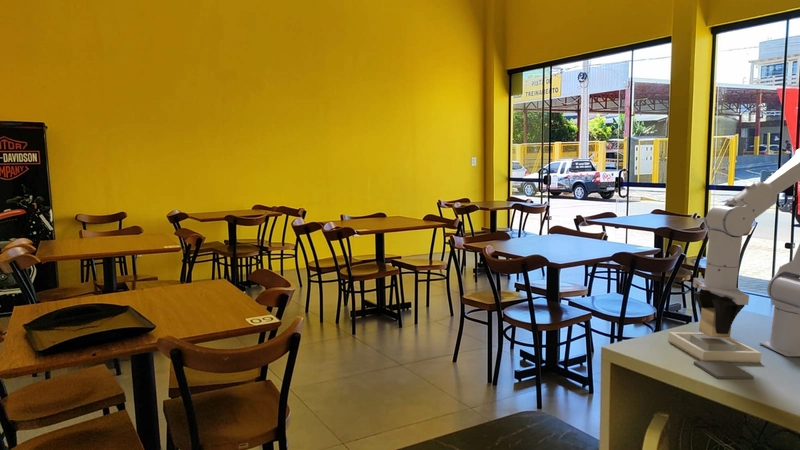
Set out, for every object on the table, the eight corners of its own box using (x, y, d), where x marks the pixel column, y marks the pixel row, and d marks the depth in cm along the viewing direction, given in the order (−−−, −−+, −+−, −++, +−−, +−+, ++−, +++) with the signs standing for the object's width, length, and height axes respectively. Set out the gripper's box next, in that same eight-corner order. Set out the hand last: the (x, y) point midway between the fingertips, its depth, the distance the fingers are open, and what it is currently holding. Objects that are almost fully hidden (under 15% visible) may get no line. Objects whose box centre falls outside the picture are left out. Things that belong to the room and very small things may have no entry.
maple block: (717, 331, 116) (719, 307, 116) (729, 337, 112) (732, 313, 112) (699, 330, 116) (701, 307, 115) (711, 337, 112) (714, 313, 111)
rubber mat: (727, 364, 108) (728, 361, 107) (753, 378, 101) (753, 376, 101) (693, 363, 107) (693, 361, 107) (717, 378, 100) (717, 375, 100)
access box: (720, 341, 121) (721, 330, 121) (760, 362, 109) (761, 350, 109) (667, 341, 120) (669, 329, 120) (702, 361, 108) (703, 349, 108)
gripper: (682, 257, 119) (675, 318, 121) (727, 272, 105) (719, 341, 106) (713, 258, 120) (706, 319, 121) (762, 272, 105) (753, 341, 107)
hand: (714, 329), depth 114 cm, fingers closed on maple block, 4 cm apart
